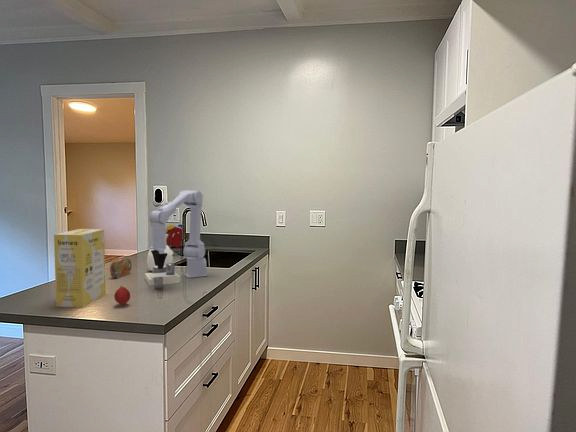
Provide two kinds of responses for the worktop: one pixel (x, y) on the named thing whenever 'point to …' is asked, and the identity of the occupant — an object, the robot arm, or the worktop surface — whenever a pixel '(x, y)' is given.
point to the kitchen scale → (161, 273)
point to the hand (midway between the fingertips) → (159, 267)
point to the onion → (122, 295)
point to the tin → (120, 268)
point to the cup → (151, 260)
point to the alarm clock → (174, 235)
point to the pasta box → (79, 267)
